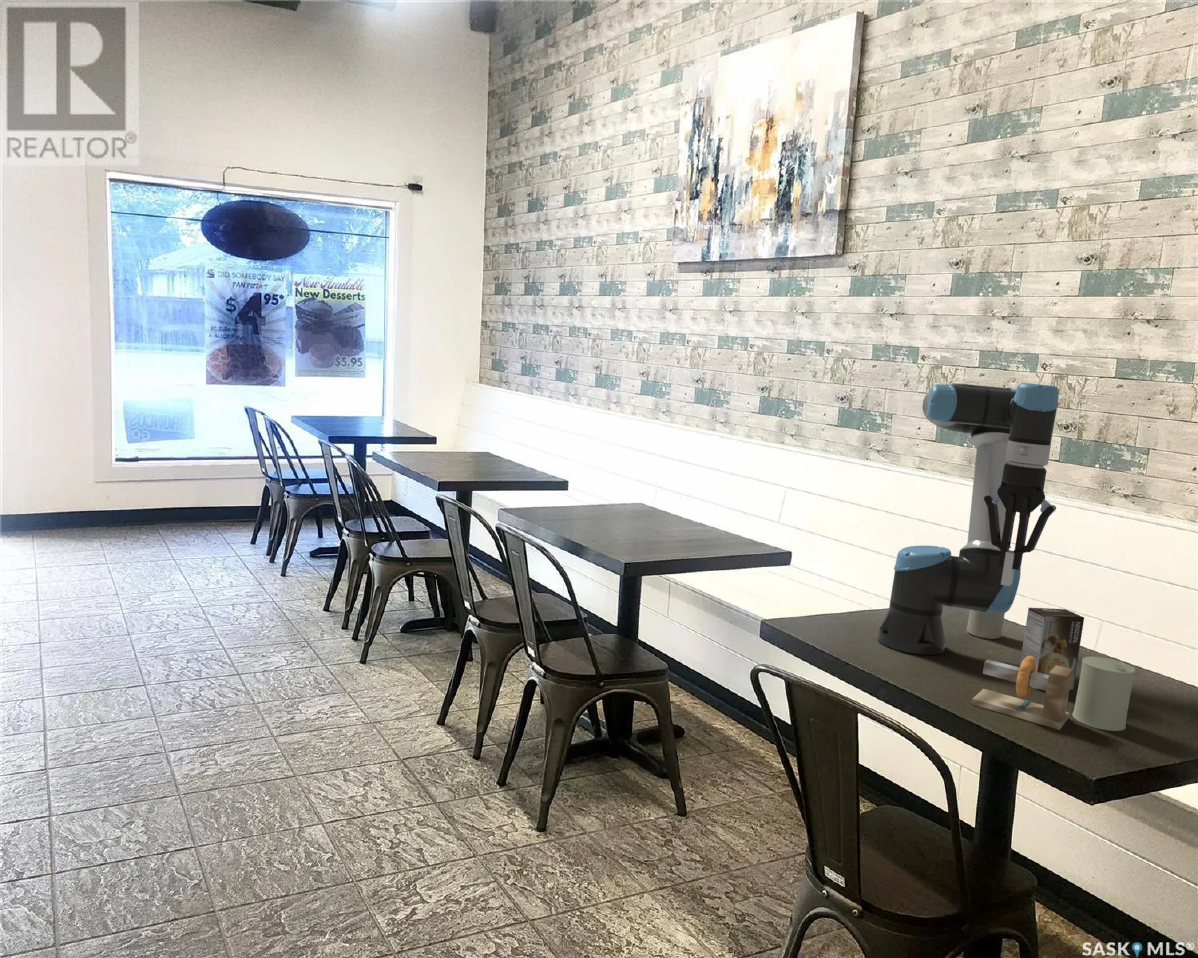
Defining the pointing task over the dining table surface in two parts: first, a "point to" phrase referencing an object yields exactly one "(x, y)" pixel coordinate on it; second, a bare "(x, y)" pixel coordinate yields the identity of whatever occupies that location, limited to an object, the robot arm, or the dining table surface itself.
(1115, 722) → the can
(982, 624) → the travel mug
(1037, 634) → the coffee box
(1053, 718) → the pipe stand
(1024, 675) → the ring
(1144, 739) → the dining table surface
